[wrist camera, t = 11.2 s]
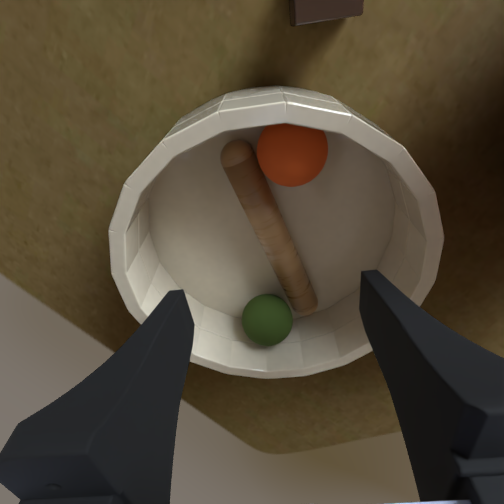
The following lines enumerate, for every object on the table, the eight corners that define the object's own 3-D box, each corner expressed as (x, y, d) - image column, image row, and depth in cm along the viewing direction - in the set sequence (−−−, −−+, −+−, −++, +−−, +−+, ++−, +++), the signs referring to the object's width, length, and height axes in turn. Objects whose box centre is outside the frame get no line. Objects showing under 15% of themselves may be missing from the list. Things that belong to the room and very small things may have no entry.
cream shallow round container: (177, 329, 23) (162, 387, 20) (97, 110, 15) (47, 135, 12) (390, 310, 22) (418, 368, 18) (420, 62, 14) (479, 73, 11)
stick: (207, 154, 15) (237, 144, 14) (223, 139, 16) (252, 129, 15) (292, 321, 20) (317, 322, 19) (300, 301, 21) (324, 301, 20)
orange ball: (241, 184, 15) (273, 155, 17) (302, 210, 14) (329, 176, 16) (245, 119, 13) (281, 94, 15) (318, 144, 12) (346, 114, 14)
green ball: (274, 361, 18) (227, 340, 19) (292, 345, 21) (250, 328, 22) (287, 308, 18) (238, 290, 19) (305, 299, 20) (261, 284, 22)
